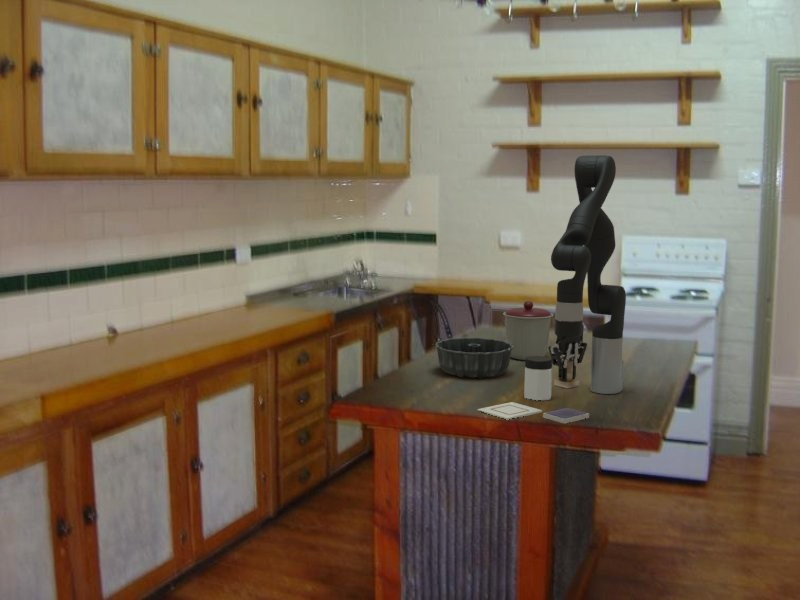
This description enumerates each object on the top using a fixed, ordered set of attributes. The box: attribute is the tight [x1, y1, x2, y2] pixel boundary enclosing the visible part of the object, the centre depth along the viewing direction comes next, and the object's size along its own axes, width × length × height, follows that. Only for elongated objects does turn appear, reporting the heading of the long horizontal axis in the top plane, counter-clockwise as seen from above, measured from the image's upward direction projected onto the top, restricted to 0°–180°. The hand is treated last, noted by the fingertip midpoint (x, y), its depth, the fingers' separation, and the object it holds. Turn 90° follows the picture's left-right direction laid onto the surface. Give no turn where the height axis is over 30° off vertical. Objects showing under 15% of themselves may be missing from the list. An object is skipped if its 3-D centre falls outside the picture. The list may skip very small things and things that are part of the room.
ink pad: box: [542, 407, 590, 424], centre depth 258 cm, size 10×8×1 cm
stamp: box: [553, 360, 580, 390], centre depth 257 cm, size 5×5×7 cm
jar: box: [523, 356, 554, 402], centre depth 281 cm, size 9×8×12 cm
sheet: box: [476, 401, 543, 421], centre depth 264 cm, size 14×12×1 cm
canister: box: [502, 300, 554, 361], centre depth 339 cm, size 18×18×21 cm
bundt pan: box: [435, 336, 514, 379], centre depth 314 cm, size 26×26×10 cm
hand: (566, 379), depth 257 cm, fingers closed on stamp, 3 cm apart
